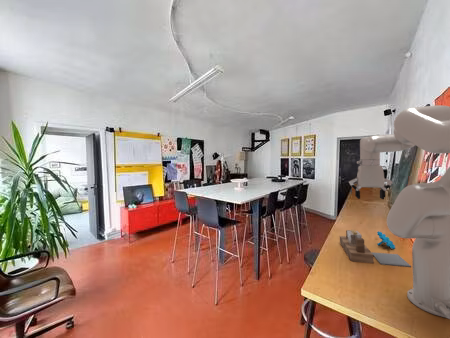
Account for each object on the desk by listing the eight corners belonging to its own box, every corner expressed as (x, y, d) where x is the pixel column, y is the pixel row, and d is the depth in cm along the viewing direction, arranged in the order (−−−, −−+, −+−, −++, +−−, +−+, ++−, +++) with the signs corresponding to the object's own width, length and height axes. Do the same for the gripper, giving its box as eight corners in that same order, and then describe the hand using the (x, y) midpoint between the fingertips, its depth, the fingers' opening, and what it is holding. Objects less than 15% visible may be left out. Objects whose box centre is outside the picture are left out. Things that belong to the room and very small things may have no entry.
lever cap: (362, 247, 99) (361, 233, 99) (350, 246, 101) (350, 233, 100) (358, 242, 105) (357, 229, 105) (347, 241, 106) (347, 229, 106)
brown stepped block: (373, 263, 91) (372, 241, 91) (351, 261, 94) (350, 240, 93) (357, 243, 112) (357, 226, 112) (339, 242, 115) (339, 225, 114)
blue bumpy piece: (394, 249, 100) (377, 231, 106) (383, 255, 103) (367, 237, 109) (398, 245, 107) (382, 229, 113) (388, 251, 110) (373, 235, 116)
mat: (410, 267, 86) (410, 265, 86) (380, 264, 90) (380, 263, 90) (397, 255, 97) (397, 254, 97) (371, 253, 100) (371, 252, 100)
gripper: (350, 164, 94) (351, 200, 95) (396, 162, 88) (395, 200, 89) (346, 163, 101) (347, 196, 102) (388, 161, 95) (388, 197, 96)
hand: (369, 198), depth 96 cm, fingers open, 9 cm apart
